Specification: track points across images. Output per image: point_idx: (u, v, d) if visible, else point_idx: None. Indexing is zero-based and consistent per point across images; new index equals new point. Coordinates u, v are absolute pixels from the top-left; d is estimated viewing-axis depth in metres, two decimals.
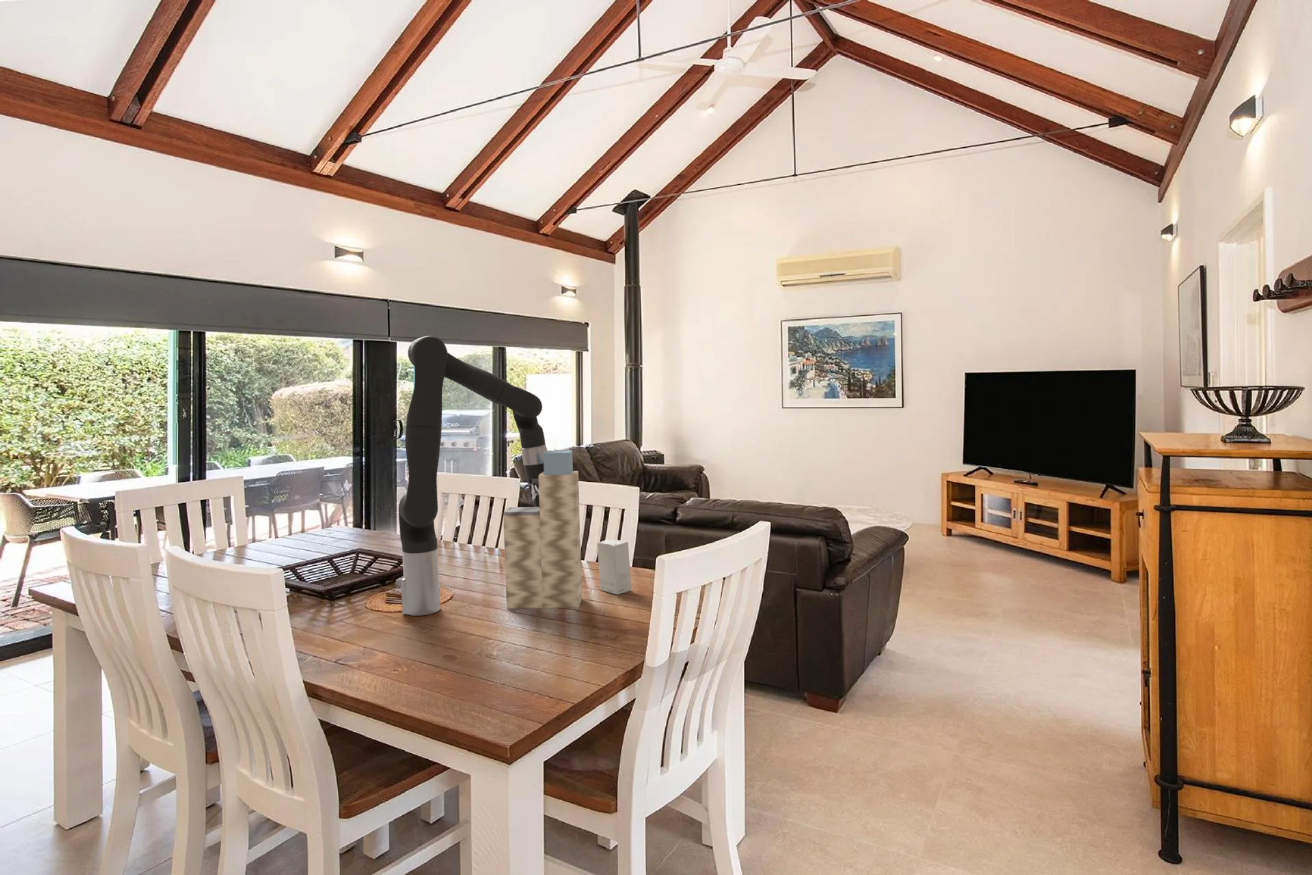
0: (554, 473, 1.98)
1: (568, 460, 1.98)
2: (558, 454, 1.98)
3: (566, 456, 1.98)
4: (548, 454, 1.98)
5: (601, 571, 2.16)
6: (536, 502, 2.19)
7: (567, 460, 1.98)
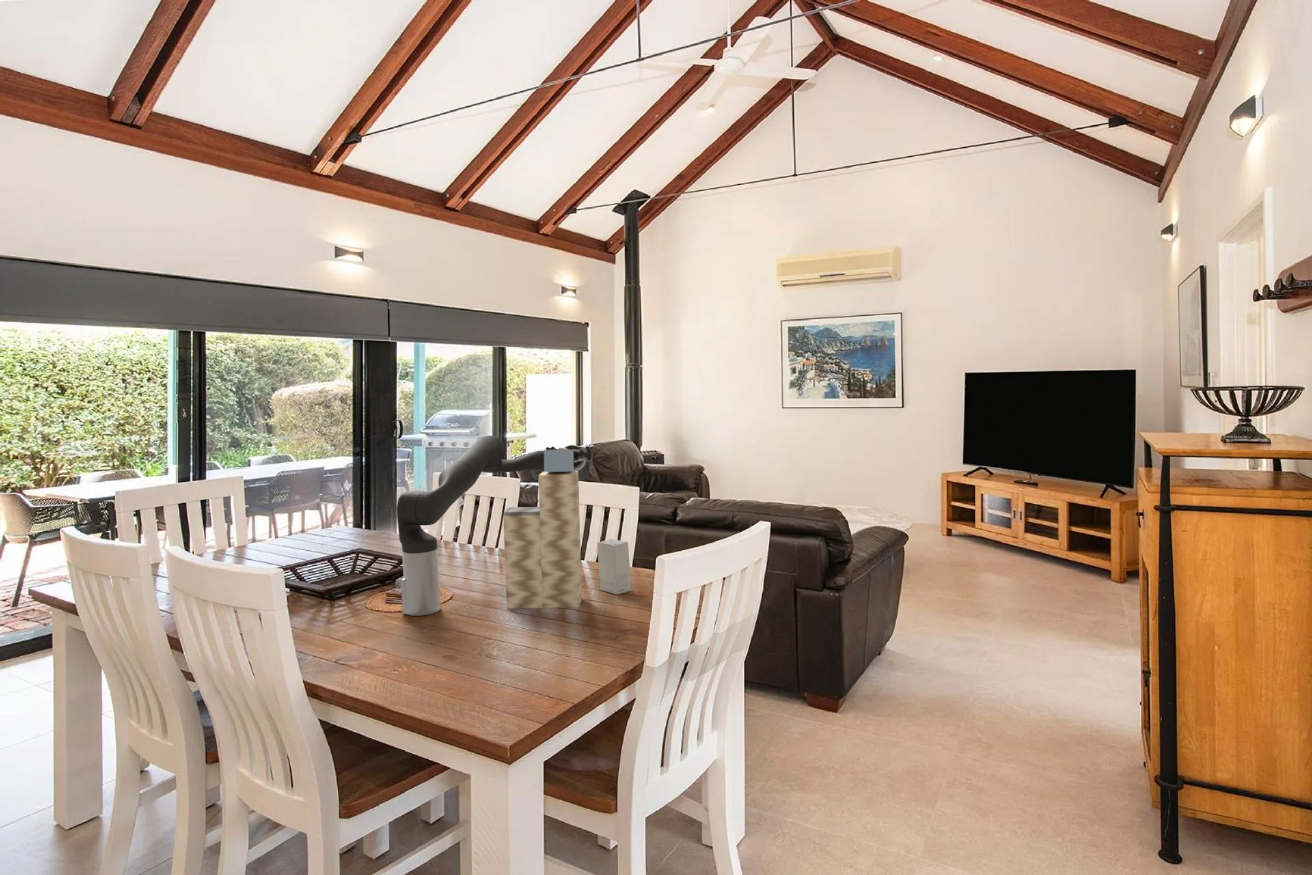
0: (554, 470, 1.99)
1: (568, 457, 1.99)
2: (558, 451, 1.99)
3: (566, 453, 1.99)
4: (548, 451, 1.99)
5: (601, 571, 2.16)
6: (555, 449, 2.21)
7: (567, 457, 1.99)
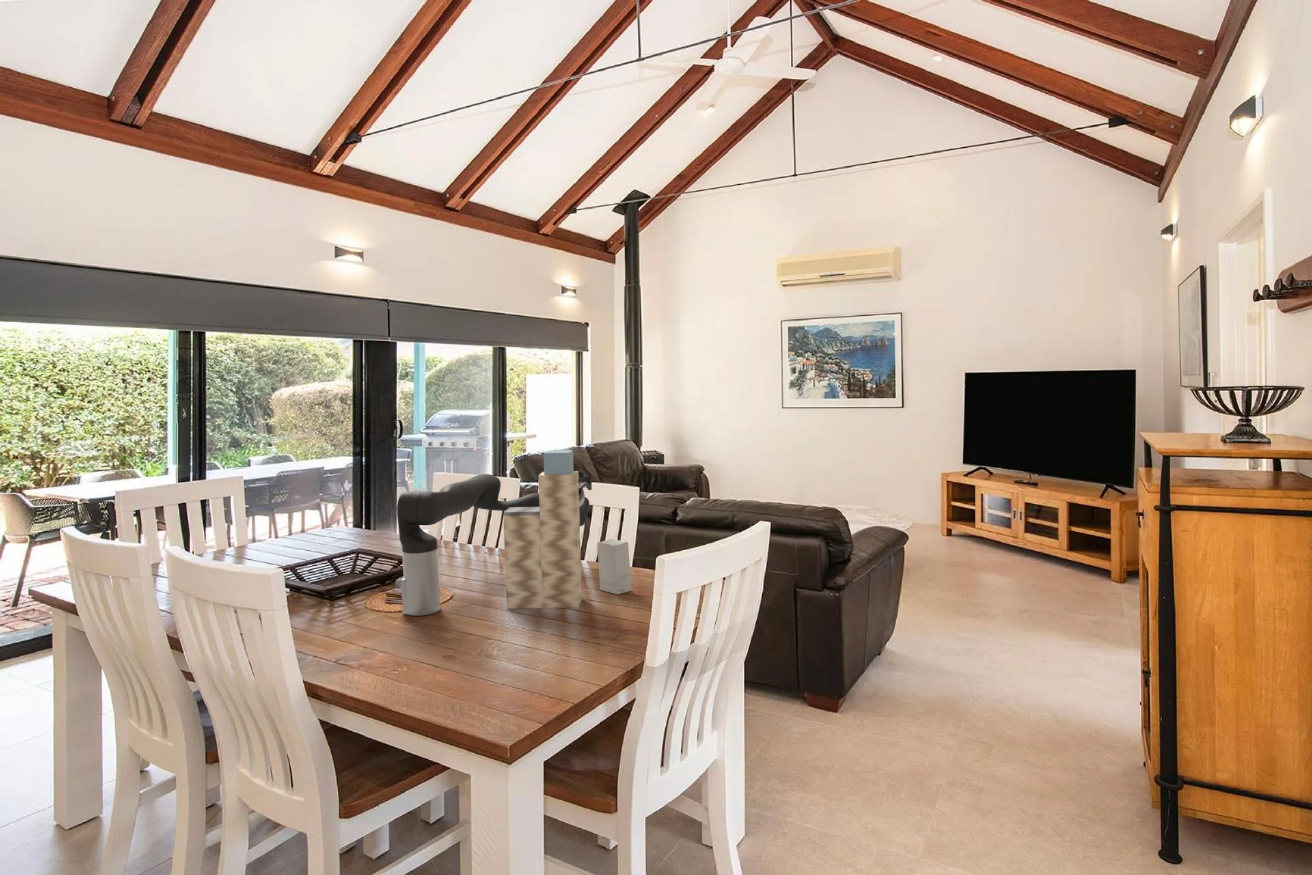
0: (554, 473, 1.99)
1: (568, 460, 1.98)
2: (558, 454, 1.98)
3: (566, 456, 1.98)
4: (548, 454, 1.98)
5: (601, 571, 2.16)
6: None
7: (567, 460, 1.98)
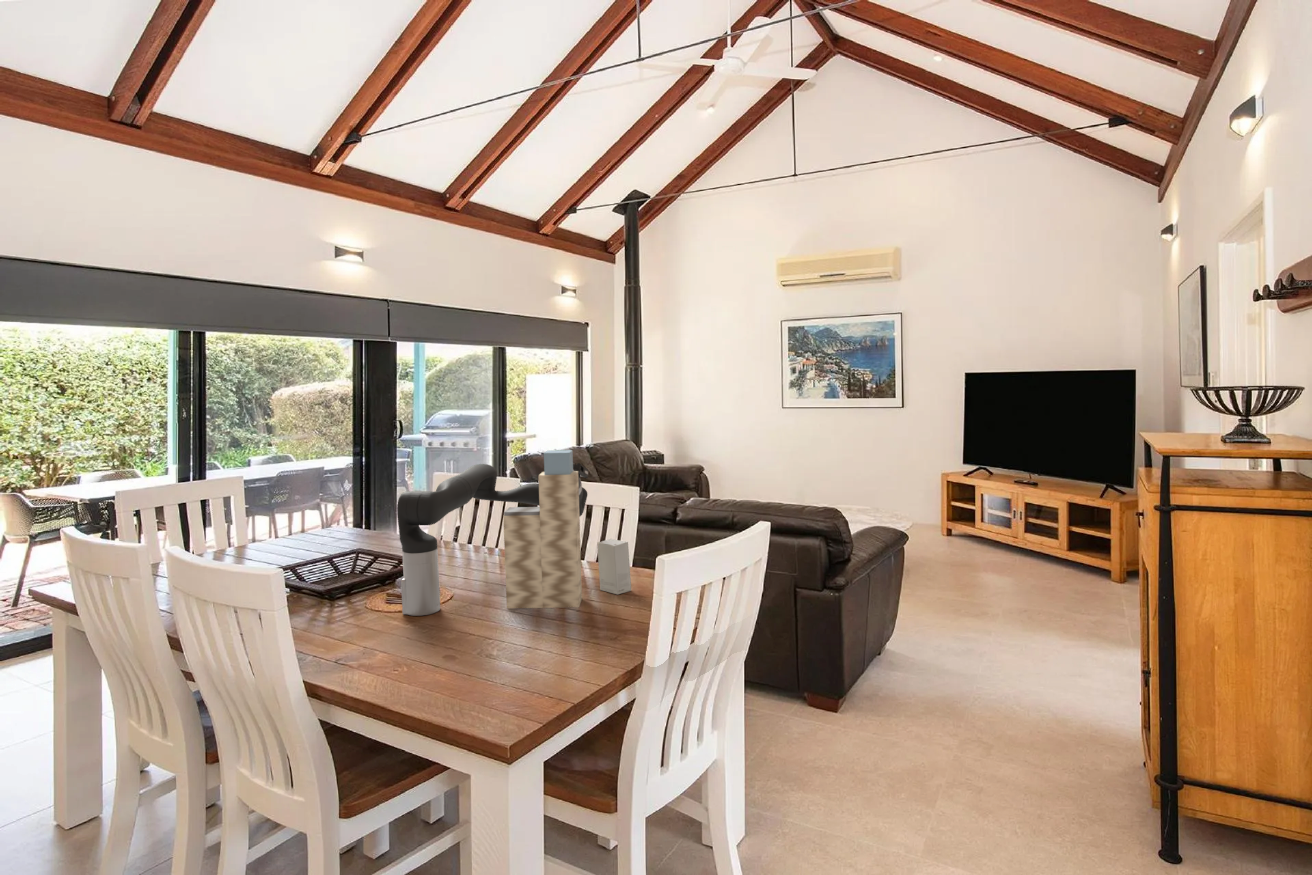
0: (554, 473, 1.99)
1: (568, 460, 1.98)
2: (558, 454, 1.98)
3: (567, 456, 1.98)
4: (548, 454, 1.98)
5: (601, 571, 2.16)
6: None
7: (567, 460, 1.98)
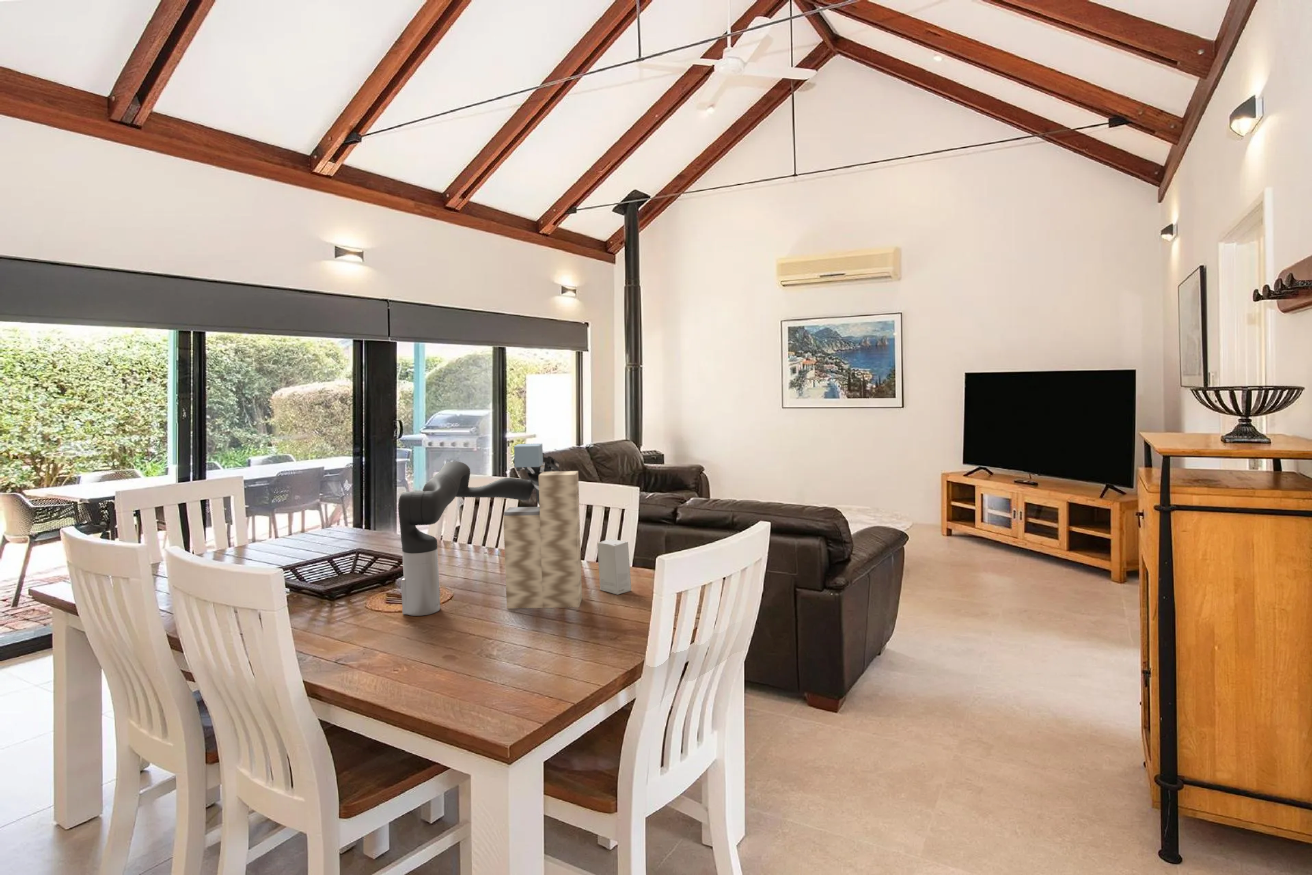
0: (524, 465, 2.08)
1: (537, 453, 2.08)
2: (528, 447, 2.08)
3: (536, 449, 2.08)
4: (518, 447, 2.08)
5: (601, 571, 2.16)
6: None
7: (536, 453, 2.08)
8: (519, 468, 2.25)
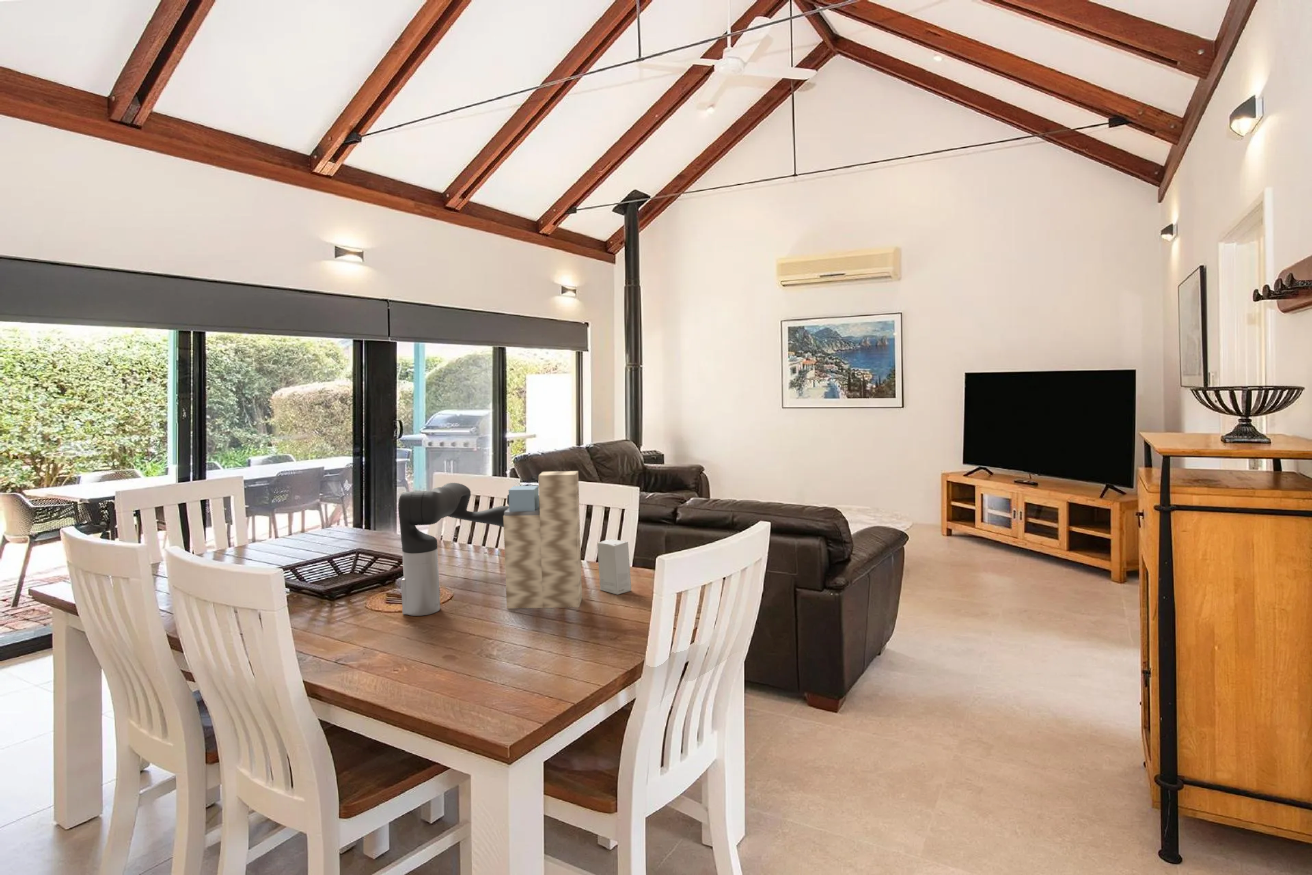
0: (519, 510, 2.00)
1: (533, 497, 1.99)
2: (523, 491, 1.99)
3: (531, 493, 1.99)
4: (513, 491, 1.99)
5: (601, 571, 2.16)
6: None
7: (532, 497, 1.99)
8: None
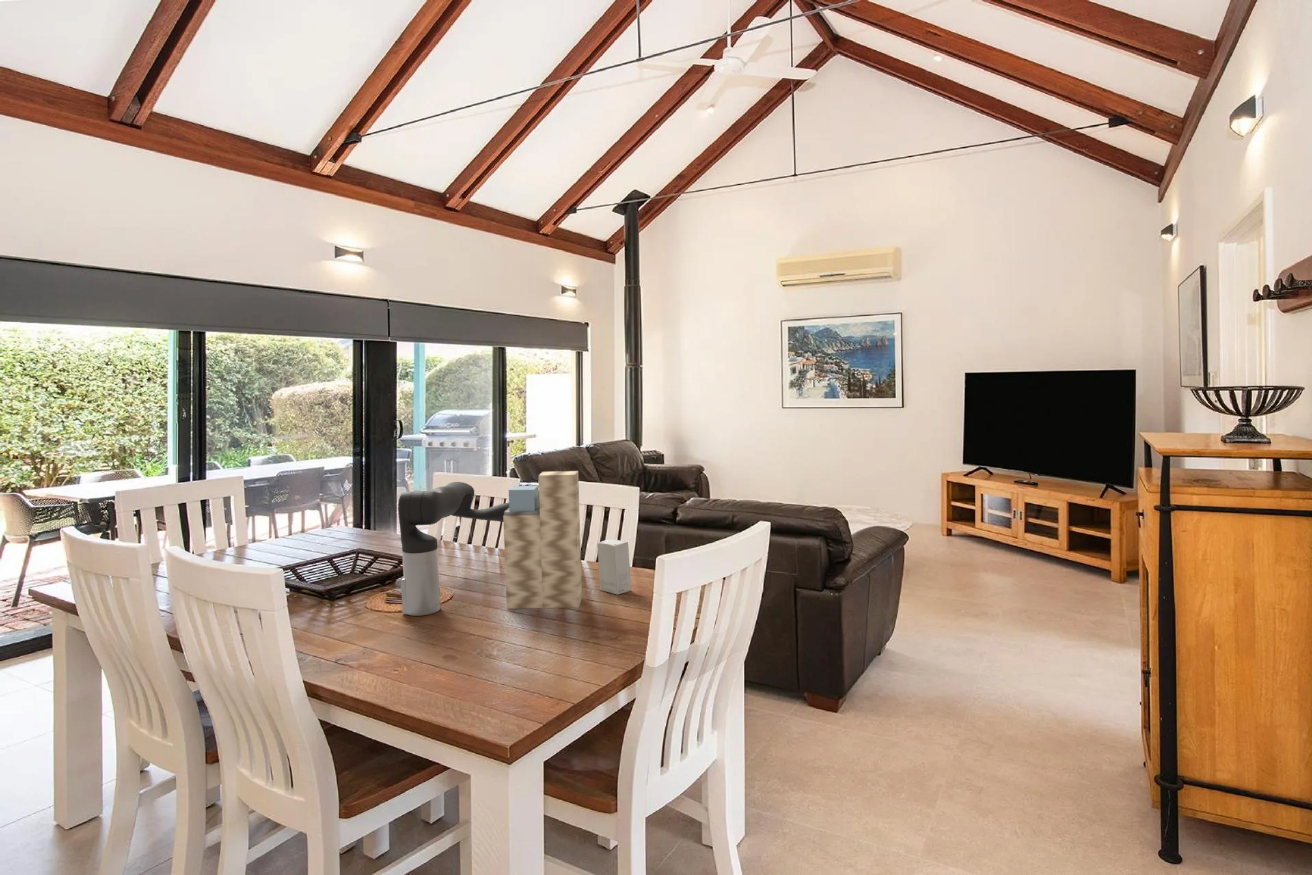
0: (519, 510, 2.00)
1: (533, 497, 1.99)
2: (523, 491, 1.99)
3: (531, 493, 1.99)
4: (513, 491, 1.99)
5: (601, 571, 2.16)
6: None
7: (532, 497, 1.99)
8: None
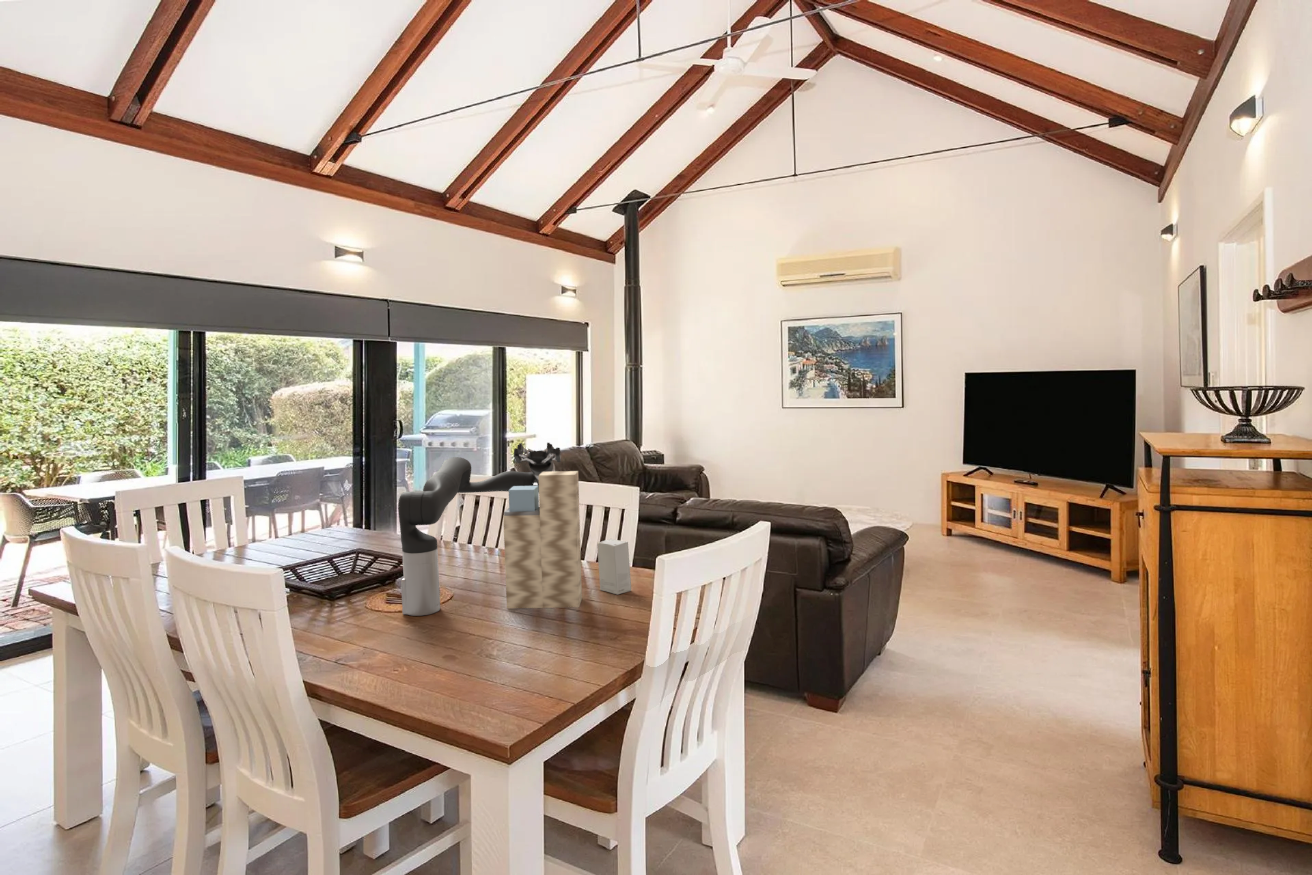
0: (519, 510, 2.00)
1: (533, 497, 1.99)
2: (523, 491, 1.99)
3: (531, 493, 1.99)
4: (513, 491, 1.99)
5: (601, 571, 2.16)
6: (523, 448, 2.24)
7: (532, 497, 1.99)
8: (518, 460, 2.28)
